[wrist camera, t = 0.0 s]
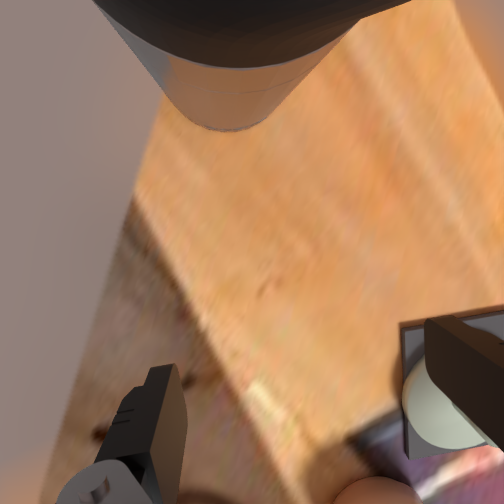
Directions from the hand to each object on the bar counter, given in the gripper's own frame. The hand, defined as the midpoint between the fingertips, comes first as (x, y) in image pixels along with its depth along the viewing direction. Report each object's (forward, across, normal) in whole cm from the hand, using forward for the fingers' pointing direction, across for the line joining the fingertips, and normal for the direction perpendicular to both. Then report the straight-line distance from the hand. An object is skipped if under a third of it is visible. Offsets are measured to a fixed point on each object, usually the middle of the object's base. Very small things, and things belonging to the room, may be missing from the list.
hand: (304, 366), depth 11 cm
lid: (+17, -17, +16) cm, 29 cm away
